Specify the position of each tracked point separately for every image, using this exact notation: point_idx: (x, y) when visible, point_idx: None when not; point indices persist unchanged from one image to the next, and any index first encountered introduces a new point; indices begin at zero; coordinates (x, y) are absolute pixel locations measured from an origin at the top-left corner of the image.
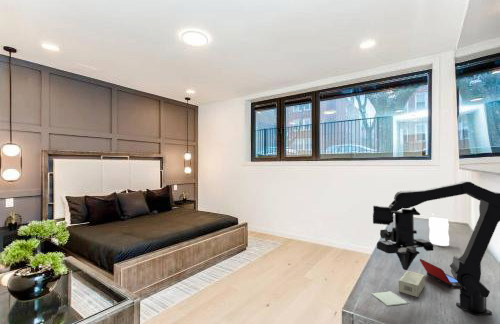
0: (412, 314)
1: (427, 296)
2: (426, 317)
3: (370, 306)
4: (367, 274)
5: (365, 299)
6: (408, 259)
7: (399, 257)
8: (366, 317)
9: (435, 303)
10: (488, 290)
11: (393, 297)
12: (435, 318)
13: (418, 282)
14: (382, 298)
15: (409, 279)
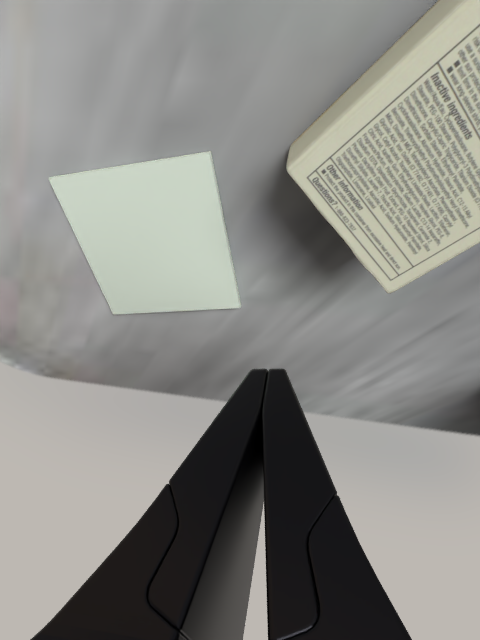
0: (202, 374)
1: None
2: None
3: (31, 303)
4: None
5: (8, 239)
6: (239, 636)
7: (137, 557)
8: (10, 364)
9: (413, 319)
10: None
11: (183, 246)
12: None
13: (465, 242)
14: (107, 250)
15: (436, 160)
